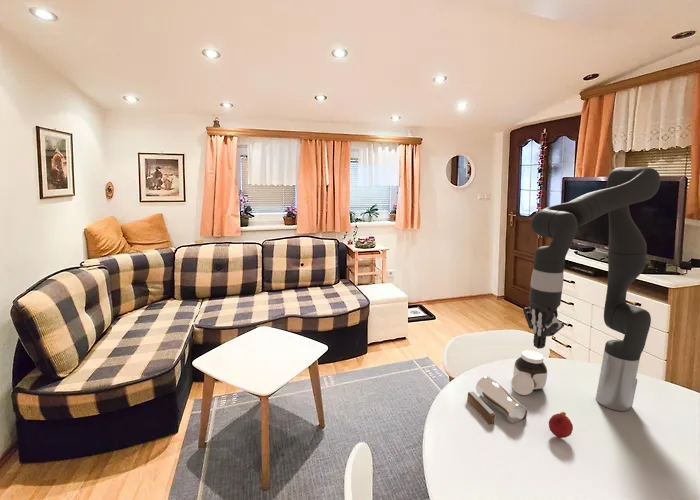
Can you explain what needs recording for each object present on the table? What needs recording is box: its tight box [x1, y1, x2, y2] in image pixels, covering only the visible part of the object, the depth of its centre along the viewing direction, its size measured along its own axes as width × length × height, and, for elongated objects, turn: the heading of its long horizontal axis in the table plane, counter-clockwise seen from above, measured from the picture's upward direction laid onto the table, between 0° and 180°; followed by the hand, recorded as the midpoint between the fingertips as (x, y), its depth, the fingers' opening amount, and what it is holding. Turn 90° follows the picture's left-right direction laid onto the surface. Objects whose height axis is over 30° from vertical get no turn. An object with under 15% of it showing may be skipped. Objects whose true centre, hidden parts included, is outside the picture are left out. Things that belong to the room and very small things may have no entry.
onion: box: [548, 411, 574, 439], centre depth 106 cm, size 6×6×8 cm
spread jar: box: [511, 350, 548, 396], centre depth 130 cm, size 12×11×12 cm
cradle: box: [466, 391, 528, 426], centre depth 118 cm, size 13×12×3 cm
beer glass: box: [475, 375, 526, 424], centre depth 119 cm, size 7×7×15 cm
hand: (538, 347), depth 104 cm, fingers closed
